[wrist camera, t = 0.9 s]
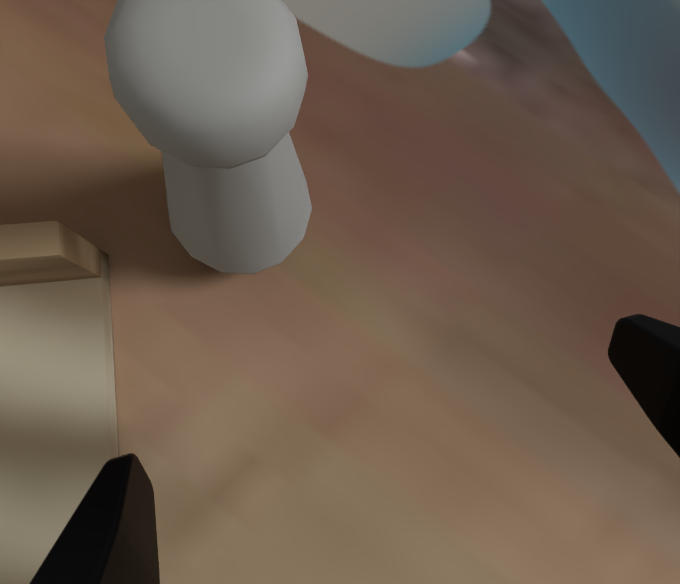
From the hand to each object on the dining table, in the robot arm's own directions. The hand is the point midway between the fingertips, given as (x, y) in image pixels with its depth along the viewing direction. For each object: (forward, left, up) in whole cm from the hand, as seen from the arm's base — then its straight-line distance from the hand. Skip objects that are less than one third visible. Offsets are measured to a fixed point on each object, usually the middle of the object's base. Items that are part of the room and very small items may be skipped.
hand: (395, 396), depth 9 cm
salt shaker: (+8, +3, -14) cm, 16 cm away
